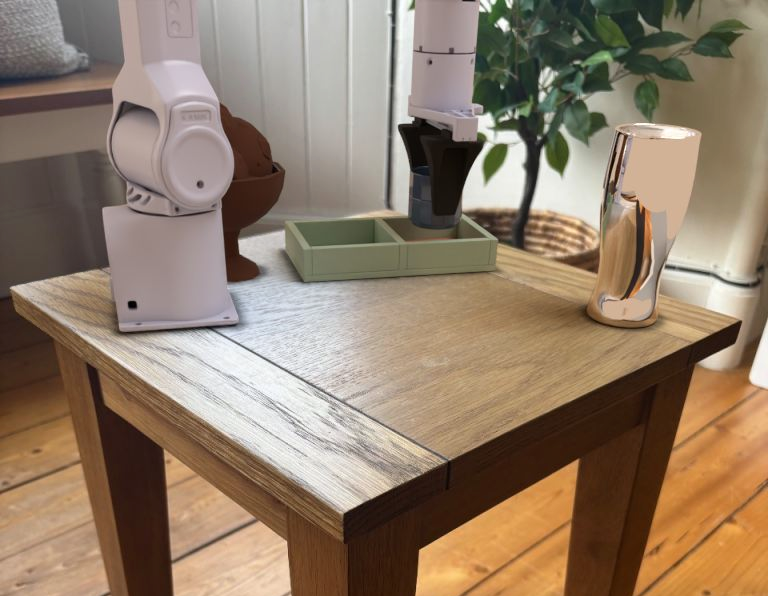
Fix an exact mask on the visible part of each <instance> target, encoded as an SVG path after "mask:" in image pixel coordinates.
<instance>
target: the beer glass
mask: <svg viewBox="0 0 768 596" xmlns="http://www.w3.org/2000/svg"><path fill="white" fill-rule="evenodd" d="M702 136H703V135H702V132H701V131H699V130H697V129H694V128H690V127H686V126H680V125H673V124H666V123H665V124H664V123H651V122H650V123H649V122H648V123H647V122H632V123H631V122H630V123H623V124H622V123H621V124H618V125H616V126H615V128H614V133H613V138H612V141H611V145H610V149H609V153H608V158H607V162H606V165H605V171H604V176H603V181H602V188H601V195H600V207H599V258H598V259H599V261H598V268H597V269H598V271H597V276H596V280H595V283H594V287H593V289H592V292H591V294H590V298H589V300H588V303H587V307H586V313H587V315H588V316H589V317H590V318H591V319H592V320H594V321H596V322H598V323H601V324H604V325H607V326H611V327H617V328H618V327H619V328H626V329H627V328H628V329H629V328H631V329H632V328H633V329H634V328H635V329H636V328H644V327H650V326H651V325H653V324H655V323H656V322H657V320H658V317H659V300H660V299H659V298H660V286H661V281H662V278H663V273H664V270H665V267H666V265H667V261H668V259H669V257H670V255H671V252H672V249H673V247H674V245H675V242H676V239H677V237H678V234H679V232H680V229H681V228H682V225H683V222H684V219H685V216H686V214H687V211H688V207H689V203H690V199H691V196H692V191H693V187H694V181H695V177H696V173H697V172H696V171H697V164H698V160H699V159H698V158H699V152H700V151H699V150H700V144H701V139H702Z"/></svg>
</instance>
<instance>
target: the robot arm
mask: <svg viewBox="0 0 768 596" xmlns="http://www.w3.org/2000/svg"><path fill="white" fill-rule="evenodd" d="M117 2H118V12H119V19H120V30H121V40H122V50H123V58H124V63H123V65H122V67H121V69H120V72H119V73H118V75H117V77H116V79H115V81H114V83H113V84H112V88H111V92H112V94H111V95H112V103H113V104H112V105H113V109H112V115H111V116H112V117H111V119H110V123H109V125H108V129H107V134H106V151H107V155H108V159H109V162H110V163H111V166H112V168H113V169H114V171H115V172H116V174H118V175H119V176H120V178H122V179H123V180H124V181H125V182H126V194H125V198H126V203H125V204H119V205H112V206H104V207H102V209H101V210H102V212H101V213H102V223H103V230H104V238H105V245H106V251H107V258H108V265H109V271H110V277H111V278H109V279H108V284H109V291H110V298H111V302H115V308H116V314H117V315H116V316H117V321H118V329H119V331H120V332H123V333H127V332H128V333H129V332H142V331H156V330H157V331H158V330H170V329H185V328H197V327H212V326H213V327H215V326H226V325H237V324H239V322H240V319H239V318H240V317H239V315H238V312H237V309H236V306H235V303H234V301H233V298H232V294H231V293H230V290H229V289H228V282H227V276H226V263H225V250H224V238H223V225H222V212H221V208H222V203H221V198H222V197H223V196H224V194H225V193H226V192H227V190H228V188H229V186H230V184H231V181H232V177H233V173H234V157H233V151H232V148H231V145H230V143H229V141H228V139H227V137H226V135H225V133H224V130H223V127H222V124H221V118H220V104H219V102H220V101H219V98H218V96H217V94H216V92H215V90H214V88H213V86H212V84H211V83H210V80H209V79H208V77H207V76H206V73H205V71H204V69H203V65H202V59H201V58H202V57H201V41H200V39H201V38H200V26H199V25H200V23H199V11H198V10H199V9H198V0H117ZM480 5H481V0H414V17H413V37H412V38H413V39H412V41H413V42H412V62H411V84H410V86H411V87H410V94H408V97H407V100H408V101H407V117H409V118H413V120H412V121H411V123H398V124H397V130H398V133H399V135H400V138H401V140H402V142H403V145H404V148H405V151H406V157H407V160H408V166H409V171H410V170H411V169H412V168H414V167H418V166H428V167H429V173H430V184H431V202H432V209H433V214H434V215H435V216H448V215H455V214H456V211H457V208H458V205H459V202H460V199H461V195H462V192H463V188H464V189H465V186H466V182H467V179H468V176H469V174H470V171H471V170H472V168H473V165H474V163H475V162H476V160H477V158H478V156H479V155H480V154H481V152H482V151H483V149H484V145H485V140H483V139H481V138H480V137H478V129H479V117H478V116H476V115H483V113H484V106H483V105H481V104H479V103H473V94H474V93H473V92H474V91H473V90H474V79H475V67H476V57H477V56H476V53H477V43H478V32H479V31H478V29H479V18H480ZM463 193H464V192H463Z"/></svg>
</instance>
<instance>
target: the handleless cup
mask: <svg viewBox="0 0 768 596" xmlns="http://www.w3.org/2000/svg"><path fill="white" fill-rule="evenodd" d="M408 183H409V184H408V207H407V216H408V218H409V219H410V220H411V221H412V224H413V225H414V226H417V227H420V228H424V229H433V230H443V229H450V228H454V227H456V226H457V223H458V222H460V221H461V217H462V213H463V206H464V205H463V200H464V192H465V191H464V190H465V187H464V188H463V192H462V195H461V199H460V202H459V205H458V208H457V211H456V214H455V215H448V216H435V215H434V214H433V209H432V202H431V184H430V173H429V167H428V166H418V167H414V168H412V169H411V170H410V169H409V182H408Z"/></svg>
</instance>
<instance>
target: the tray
mask: <svg viewBox="0 0 768 596" xmlns="http://www.w3.org/2000/svg"><path fill="white" fill-rule="evenodd" d="M284 241H285V246H284V247H285V252H286V254H287V256H288V258H289V260H290V261H291V262H292V264H293V266H294V268H295V269H296V271H297V273H298V274H299V276H300V278H301V279H302V281H303V282H304V283H313V282H314V283H315V282H330V281H345V280H348V281H349V280H361V279H363V280H364V279H379V278H395V277H396V278H397V277H411V276H412V277H413V276H428V275H446V274H462V273H464V274H465V273H479V272H495V271H496V268H497V267H496V266H497V265H496V264H497V256H498V247H499V246H498V245H499V239H498V238H497V237H496V236H494V235H493V234H491V232H489V231H488V230H486V229H485V228H483V227H482V226H481V225H479V224H478V223H477V222H476V221H475V220H472V219H471V218H470V217H469V216H467V215H466V214H464V213H463V212H462V217H461V221H460V222H458V223H457V226H456V227H454V228H450V229H443V230H433V229H424V228H420V227H417V226H414V225H413V224H412V221H411V220H410V219H409V218H408V215H395V216H394V215H392V216H391V215H389V216H370V217H345V218H319V219H299V220H298V219H296V220H285V221H284Z"/></svg>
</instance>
